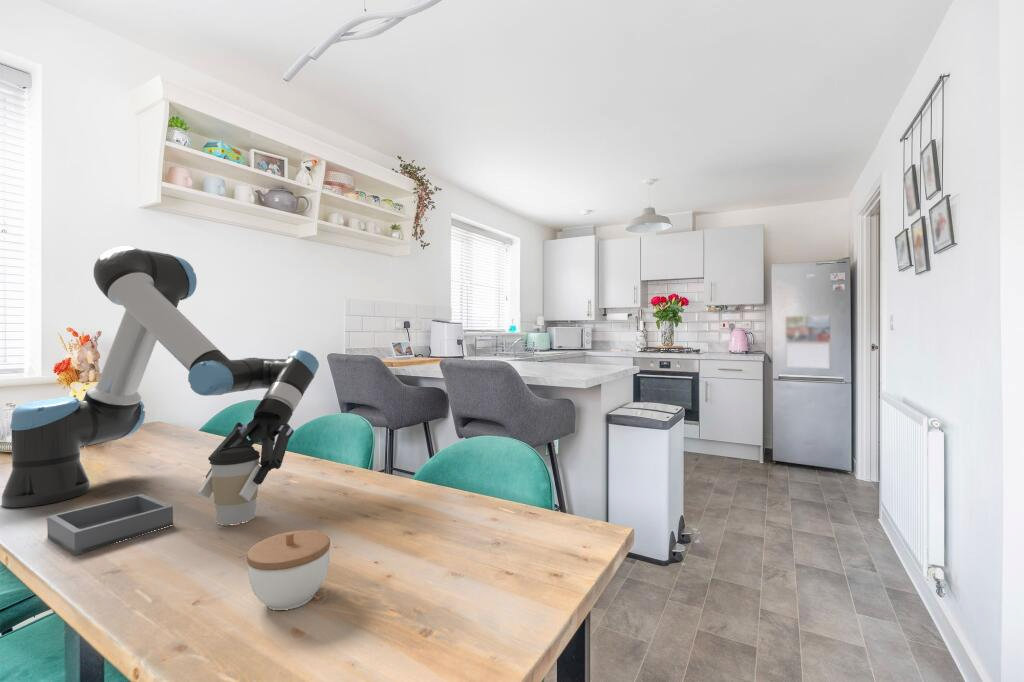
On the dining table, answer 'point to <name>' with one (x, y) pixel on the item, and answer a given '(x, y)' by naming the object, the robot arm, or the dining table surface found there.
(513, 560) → the dining table surface
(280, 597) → the lidded jar
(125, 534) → the tray
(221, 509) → the coffee cup
